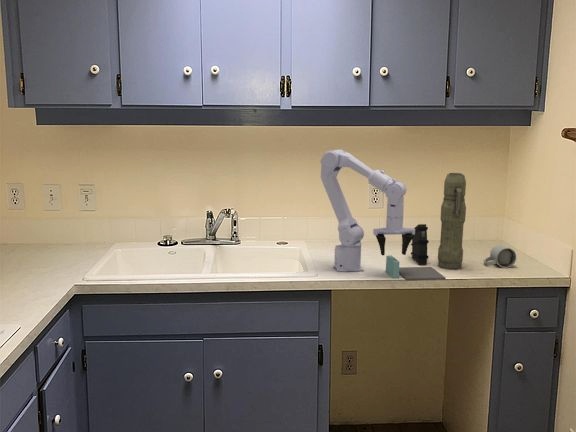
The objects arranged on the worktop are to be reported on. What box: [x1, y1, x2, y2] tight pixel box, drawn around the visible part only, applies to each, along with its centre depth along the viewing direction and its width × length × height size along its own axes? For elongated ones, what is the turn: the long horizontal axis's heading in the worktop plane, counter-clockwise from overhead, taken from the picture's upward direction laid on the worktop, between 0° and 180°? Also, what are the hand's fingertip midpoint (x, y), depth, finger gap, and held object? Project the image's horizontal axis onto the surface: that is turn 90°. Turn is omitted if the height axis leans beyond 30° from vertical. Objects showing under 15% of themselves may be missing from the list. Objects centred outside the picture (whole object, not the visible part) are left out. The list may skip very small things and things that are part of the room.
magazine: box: [410, 223, 429, 266], centre depth 223 cm, size 4×13×15 cm, turn 3°
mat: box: [399, 266, 447, 281], centre depth 206 cm, size 14×14×1 cm
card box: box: [385, 254, 400, 280], centre depth 205 cm, size 9×2×6 cm, turn 7°
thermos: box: [437, 172, 467, 271], centre depth 214 cm, size 9×12×35 cm
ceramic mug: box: [483, 245, 517, 269], centre depth 219 cm, size 11×8×8 cm
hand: (393, 254), depth 204 cm, fingers open, 7 cm apart
